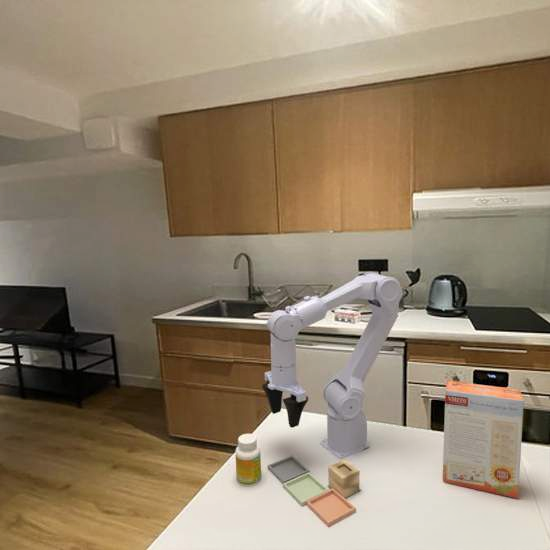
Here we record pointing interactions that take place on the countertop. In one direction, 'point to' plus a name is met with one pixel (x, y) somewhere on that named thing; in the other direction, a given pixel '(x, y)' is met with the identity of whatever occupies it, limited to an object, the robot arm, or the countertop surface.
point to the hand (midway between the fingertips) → (284, 418)
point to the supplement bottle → (248, 461)
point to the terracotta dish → (331, 507)
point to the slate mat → (350, 495)
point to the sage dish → (304, 488)
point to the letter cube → (344, 478)
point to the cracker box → (483, 437)
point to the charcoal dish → (287, 469)
